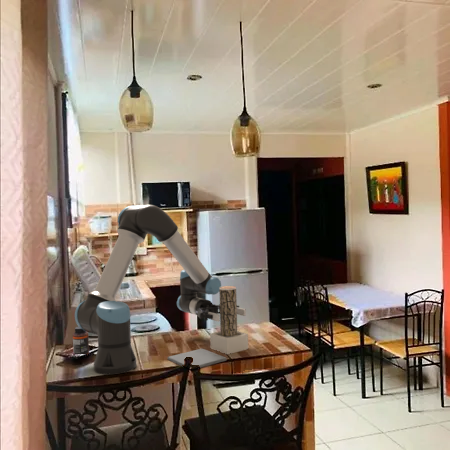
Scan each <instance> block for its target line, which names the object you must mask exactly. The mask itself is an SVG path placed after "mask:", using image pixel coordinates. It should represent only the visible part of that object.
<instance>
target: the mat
mask: <svg viewBox="0 0 450 450" xmlns="http://www.w3.org/2000/svg"><path fill="white" fill-rule="evenodd" d="M186 357H192V358H193V363H192V365H199V366H200V368H203V367H204V368H205V367H208V366H211V365H215V364H218V363H221V362H226V361H227V360H228V358H227V357H225V356H223V355H220V354H217V353H215V352H212V351H210V350H207V349H205V348H198V349H194V350H190V351H187V352H181V353H177V354H175V355H170V356H167V360H168V361H170V362H172V363H174V364H176V365H179V366H180V367H183V366H182V365H184V359H185V358H186Z"/></svg>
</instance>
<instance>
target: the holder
mask: <svg viewBox="0 0 450 450" xmlns="http://www.w3.org/2000/svg"><path fill="white" fill-rule="evenodd" d="M209 336H210V337H209V339H210V349H212V350H214V351H216V350H217V352H219V351H220V353H222V354H224V353H225V355H231V354H234V353H238V352H242V351H246V350H248V349H249V334H248V333H245V332H242V331H240V330H237V336H234V337H229V338H226V337H223V336H221V331H218V332H213V333H212V332H211V333H210V334H209ZM230 353H231V354H230Z"/></svg>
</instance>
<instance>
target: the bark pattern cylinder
mask: <svg viewBox="0 0 450 450" xmlns="http://www.w3.org/2000/svg"><path fill="white" fill-rule="evenodd" d="M219 288H220V289H219V292H218V293H219V304H220V314H219V316H220V321H219V323H220V325H219V326H220V327H219V328H220V332H221V336H223V337H226V338H229V337H234V336H237V331H238V314H237V306H238V305H237V304H238V303H237V287H236V286H234V285H226V286H225V285H224V286H221V287H219Z"/></svg>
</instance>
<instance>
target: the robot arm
mask: <svg viewBox="0 0 450 450" xmlns="http://www.w3.org/2000/svg"><path fill="white" fill-rule="evenodd" d="M117 224H118V225H117V226H118V228H117V230H116V231H117V233H118V234H117V235H118V237H117V238H116V242H115V244H114V246H113V248H112V250H111V253H110V254H109V257H108V260H107V261H106V264H105V266H104V267H103V270H102V273H101V275H100V278H99V280H98V282H97V284H96V286H95V289H94V290H93V291H91V292H88V294H87V296H86V298H85V299H84V300H83V301H81V302H80V303H79V304H78V305H77V306H76V308H75V311H74V320H75V324H76V325H77V327H80V328H81V329H83V330H84V331H86V332H88V334H89V333H90V334H94V335H97V344H98V345H97V351H96V355H95V358H94V362H93V371H94V372H95V373H97V374H101V375H118V374H123V373H127V372H130V371H132V370H134V369H136V368H137V364H138V363H137V357H136V355H135V353H134V350H133V347H132V336H131V331H132V330H131V309H130V306H129V305H128V304H127V302H123V301H117V300H116V297H117V295H118V294H119V291H120V289H121V285H122V284H123V281H124V279H125V277H126V274H127V272H128V270H129V268H130V264H131V262H132V260H133V258H134V256H135V253H136V251H137V248H138V246H139V245H140V244H142V243H143V242H145V239H146V237H147V236H148V235H151V236H153V237H154V238H155V239H156V240H157V241H158V242H159V243H163V245H164V246H165V247H166V249H167V250H168V251H169V252H170V254H171V255H172V256H173V257H174V259H175V260H176V261H177V262H178V264H179V265H180V266H181V267H182V270H181V271H180V273H179V274H180V276H179V281H180V295H179V296H178V298H177V301H176V306H177V308H178V309H179V310H180V311H182V312H184V313H187V314H188V313H189V314H192V315H195V316H197V317H198V318H199V319H200V320H203V319H204V321H206V322H207V321H208V320H212V321H215V322H217V323H220V303H219V304H213V302H212V301H211V300H210V299H209V300H208V299H205V298H202V297H198V294H199V293H200V294H206V295H208V296H209V295H212V296H213V295H217V294H218V293H219V289H220V288H219V287H222V282H221V280H220V278H218V277H216V276H212V275H211V274H210V272H209V270H208V269H207V268H206V267H205V265H204V264H203V263H202V262H201V260H200V259H199V257H198V256H197V255H196V253H195V252H194V251H193V249H192V248H191V247H190V246H189V244H188V243H187V241H186V240H185V239H184V237H183V236H182V234H181V233H180V232H179V227H178V225H177V224H176V222H175V221H174V220H173V219H172V218H171V216H170V215H168V213H167V212H165V211H164V210H163V209H162V208H160V207H158V206H157V205H154V204H141V205H139V204H133V205H129V206H126V207H124V208H122V210H121V211H120V212H119V214H118V216H117ZM238 315H239V316H243V317H246V316H247V311H246V308H241V307H240V305H237V316H238Z"/></svg>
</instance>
